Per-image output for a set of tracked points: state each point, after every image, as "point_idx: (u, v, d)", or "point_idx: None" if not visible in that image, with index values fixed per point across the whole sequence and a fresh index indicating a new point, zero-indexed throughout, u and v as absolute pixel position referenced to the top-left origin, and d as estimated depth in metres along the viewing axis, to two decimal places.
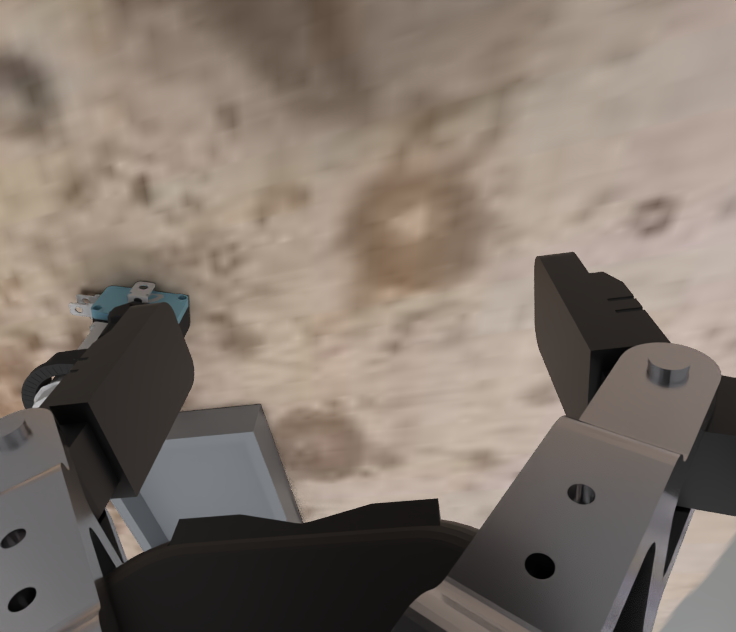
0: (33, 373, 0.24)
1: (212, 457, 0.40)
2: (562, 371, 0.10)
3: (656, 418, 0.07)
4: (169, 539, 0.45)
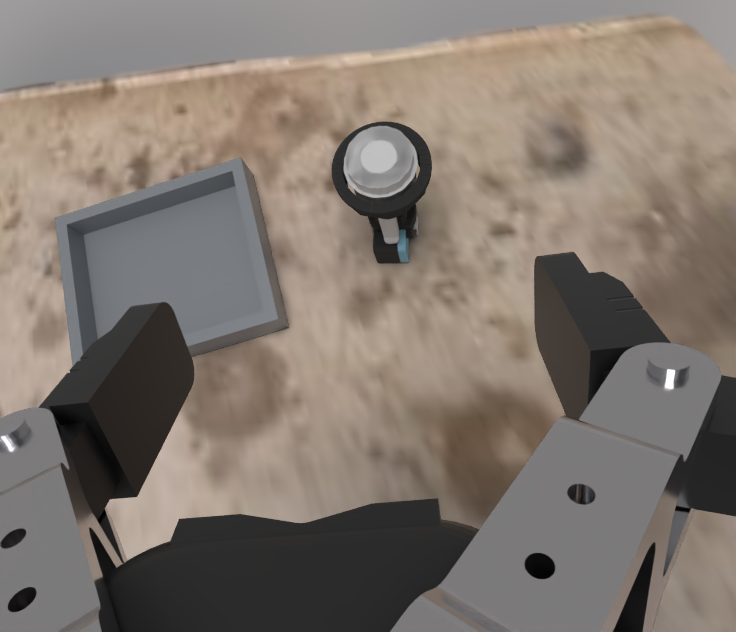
0: (416, 133, 0.30)
1: (217, 281, 0.39)
2: (562, 371, 0.10)
3: (657, 417, 0.07)
4: (85, 235, 0.41)
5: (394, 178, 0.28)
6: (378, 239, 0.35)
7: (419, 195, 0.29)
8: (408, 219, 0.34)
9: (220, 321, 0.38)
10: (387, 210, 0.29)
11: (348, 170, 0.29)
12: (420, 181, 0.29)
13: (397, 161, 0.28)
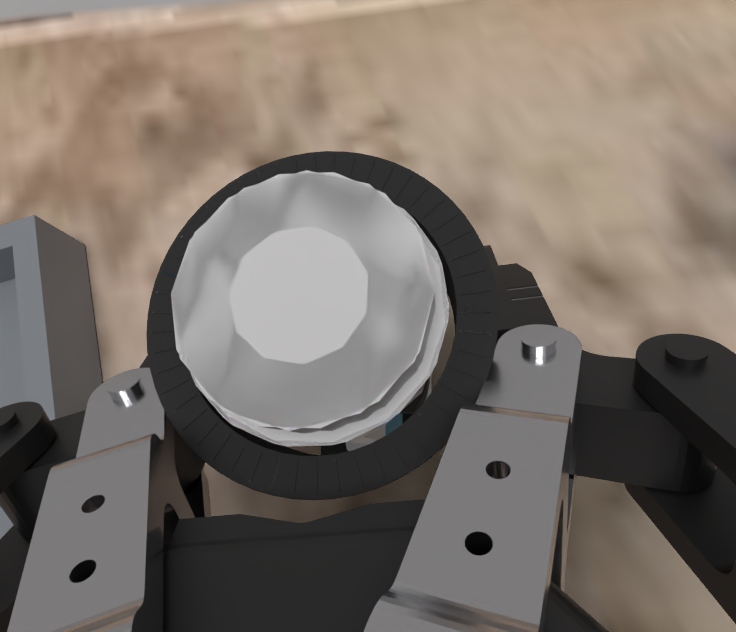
0: (440, 195, 0.08)
1: None
2: None
3: (540, 391, 0.07)
4: None
5: (357, 390, 0.07)
6: None
7: None
8: None
9: None
10: (334, 491, 0.08)
11: (180, 345, 0.07)
12: (458, 378, 0.08)
13: (370, 316, 0.07)
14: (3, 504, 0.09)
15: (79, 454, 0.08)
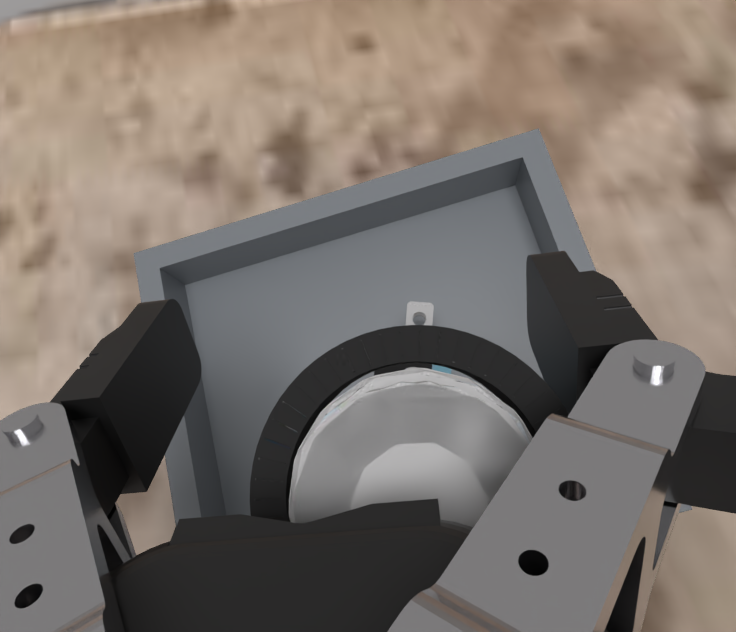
0: (545, 387, 0.09)
1: None
2: (553, 368, 0.10)
3: (643, 413, 0.07)
4: (189, 287, 0.20)
5: None
6: None
7: None
8: None
9: None
10: None
11: None
12: None
13: None
14: None
15: None
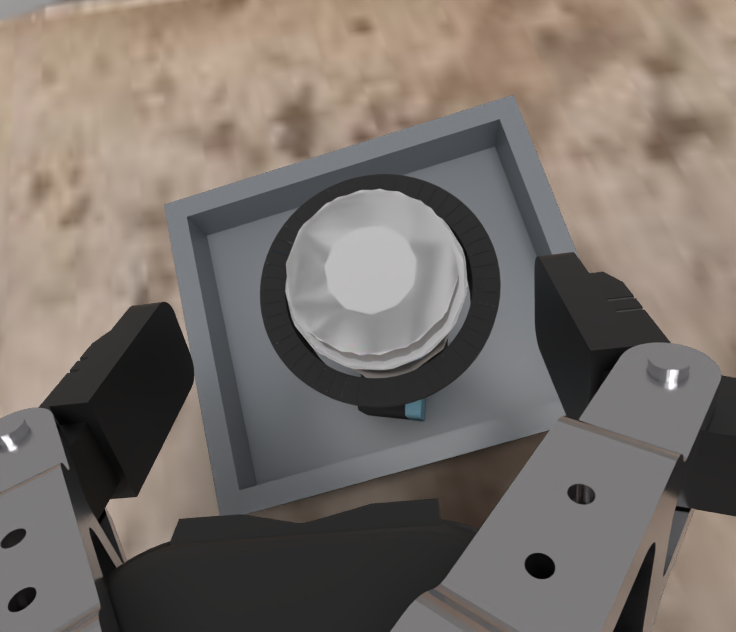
0: (467, 210, 0.12)
1: None
2: (562, 371, 0.10)
3: (657, 418, 0.07)
4: (210, 237, 0.23)
5: (405, 333, 0.11)
6: None
7: (464, 369, 0.12)
8: None
9: (484, 398, 0.20)
10: (382, 402, 0.12)
11: (291, 297, 0.11)
12: (469, 334, 0.12)
13: (416, 287, 0.11)
14: None
15: None
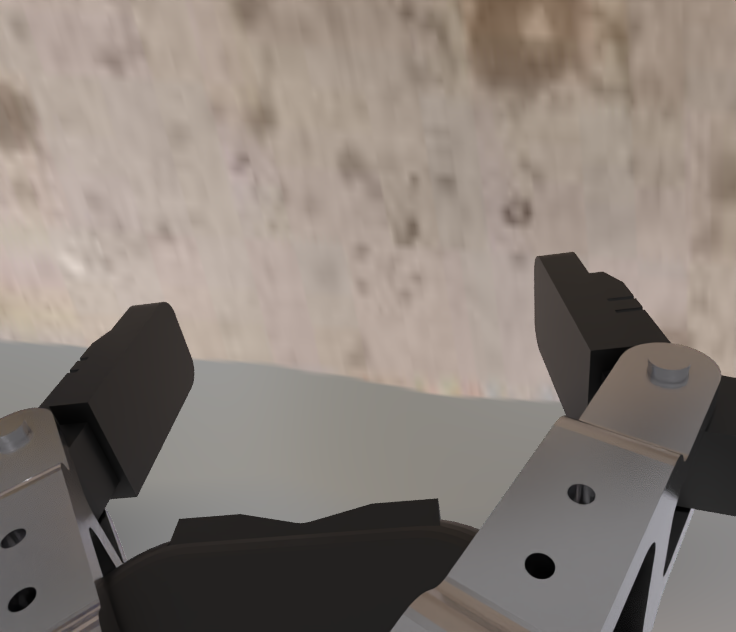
0: None
1: None
2: (562, 371, 0.10)
3: (657, 417, 0.07)
4: None
5: None
6: None
7: None
8: None
9: None
10: None
11: None
12: None
13: None
14: None
15: None
